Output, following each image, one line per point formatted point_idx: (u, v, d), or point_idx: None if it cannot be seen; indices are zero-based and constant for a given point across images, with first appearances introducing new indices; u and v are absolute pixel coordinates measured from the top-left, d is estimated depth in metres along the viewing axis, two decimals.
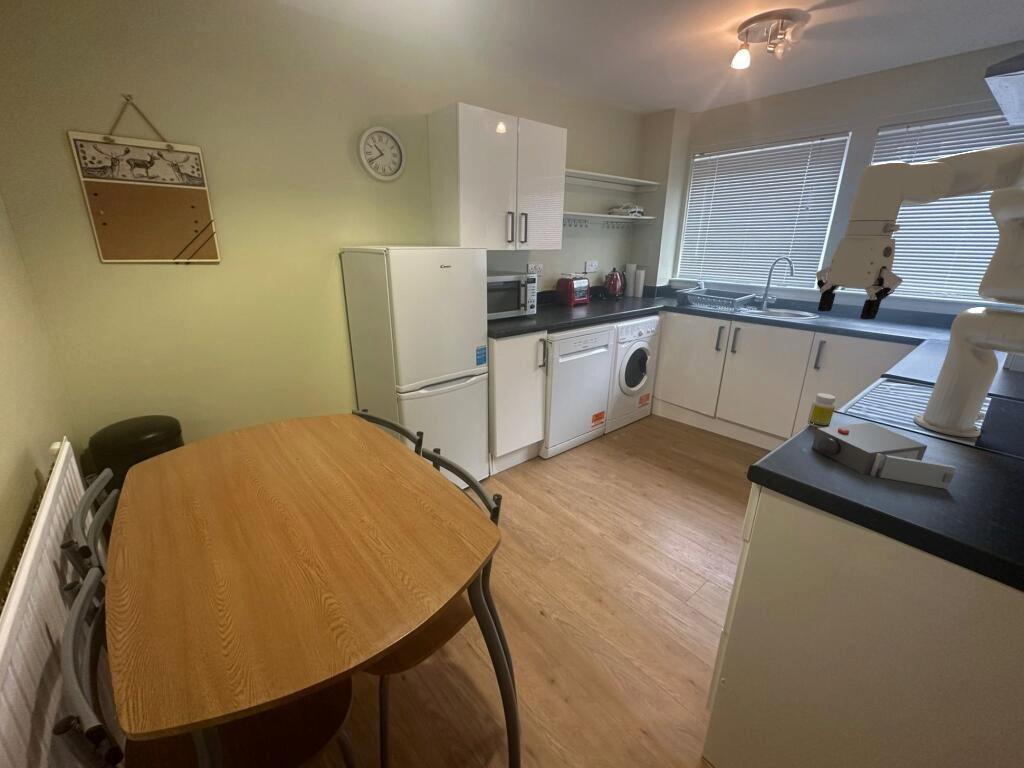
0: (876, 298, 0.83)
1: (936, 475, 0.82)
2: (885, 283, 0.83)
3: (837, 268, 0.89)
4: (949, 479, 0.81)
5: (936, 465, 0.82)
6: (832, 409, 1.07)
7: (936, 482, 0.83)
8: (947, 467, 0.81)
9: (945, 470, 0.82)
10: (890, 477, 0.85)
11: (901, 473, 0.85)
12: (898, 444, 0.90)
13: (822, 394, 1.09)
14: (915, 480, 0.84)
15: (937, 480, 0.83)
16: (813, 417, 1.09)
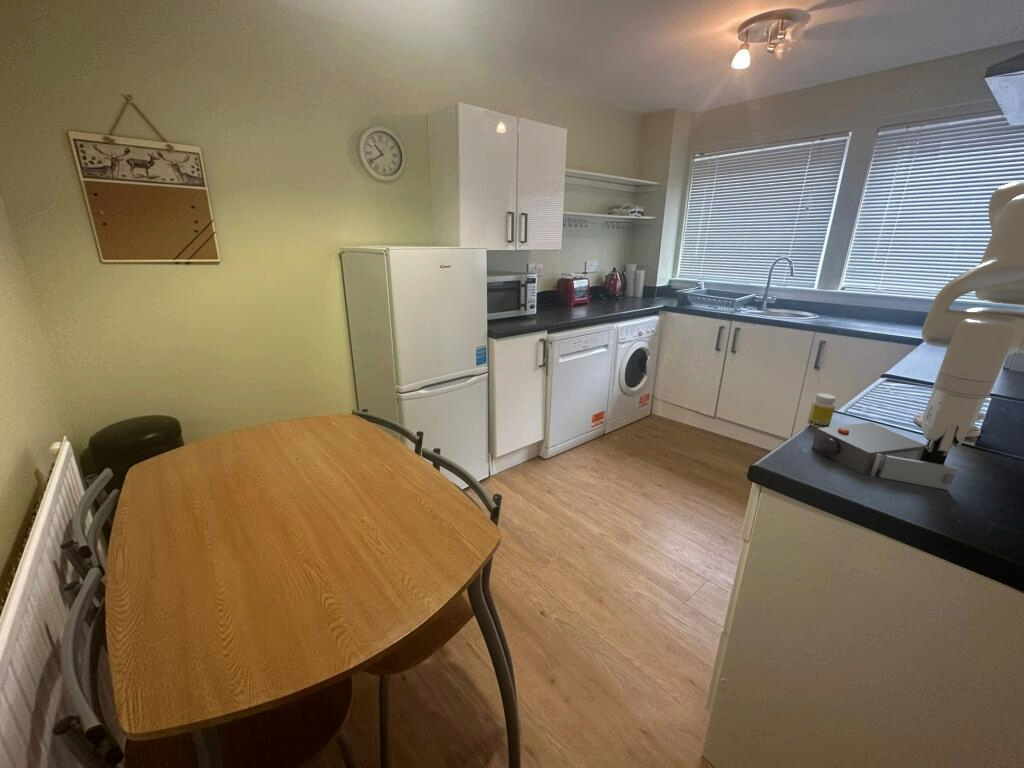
0: None
1: (937, 476, 0.82)
2: None
3: None
4: (950, 480, 0.81)
5: (937, 466, 0.82)
6: (832, 409, 1.07)
7: (937, 483, 0.82)
8: (948, 468, 0.81)
9: (946, 471, 0.81)
10: (890, 478, 0.85)
11: (901, 473, 0.84)
12: (898, 444, 0.90)
13: (822, 394, 1.09)
14: (916, 481, 0.84)
15: (938, 481, 0.82)
16: (813, 417, 1.09)
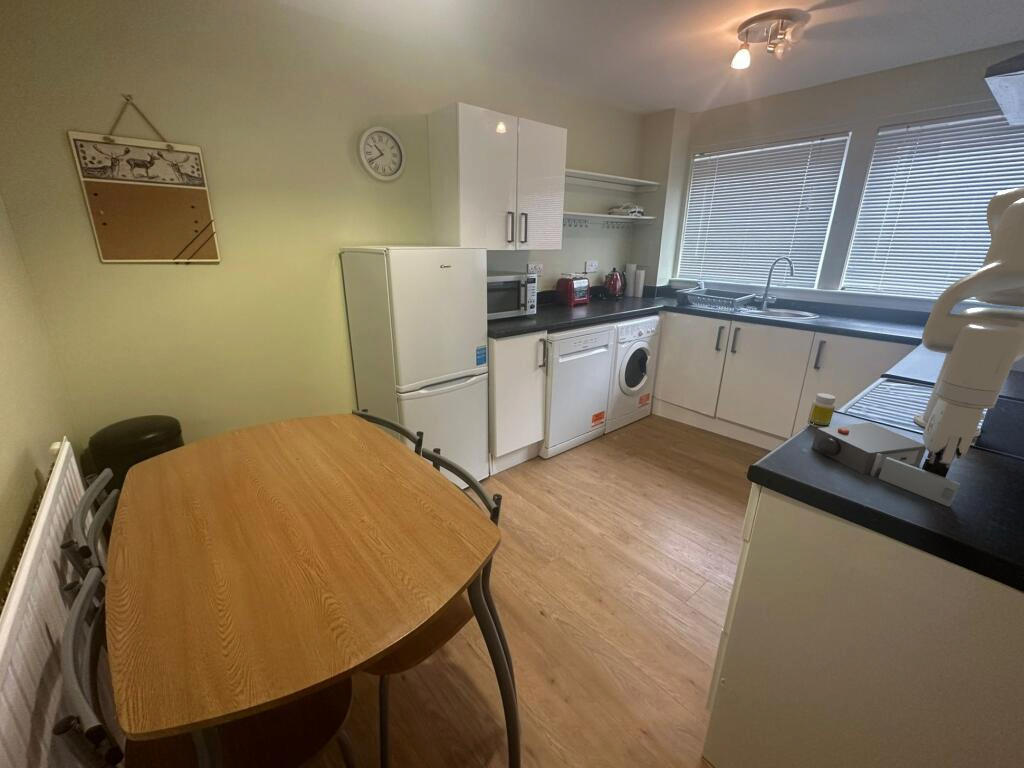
0: None
1: (936, 488, 0.78)
2: None
3: None
4: (947, 494, 0.76)
5: (936, 477, 0.78)
6: (832, 409, 1.07)
7: (936, 496, 0.78)
8: (948, 481, 0.76)
9: (946, 484, 0.77)
10: (888, 480, 0.84)
11: (899, 478, 0.83)
12: (898, 444, 0.90)
13: (822, 394, 1.09)
14: (914, 489, 0.81)
15: (937, 494, 0.78)
16: (813, 417, 1.09)
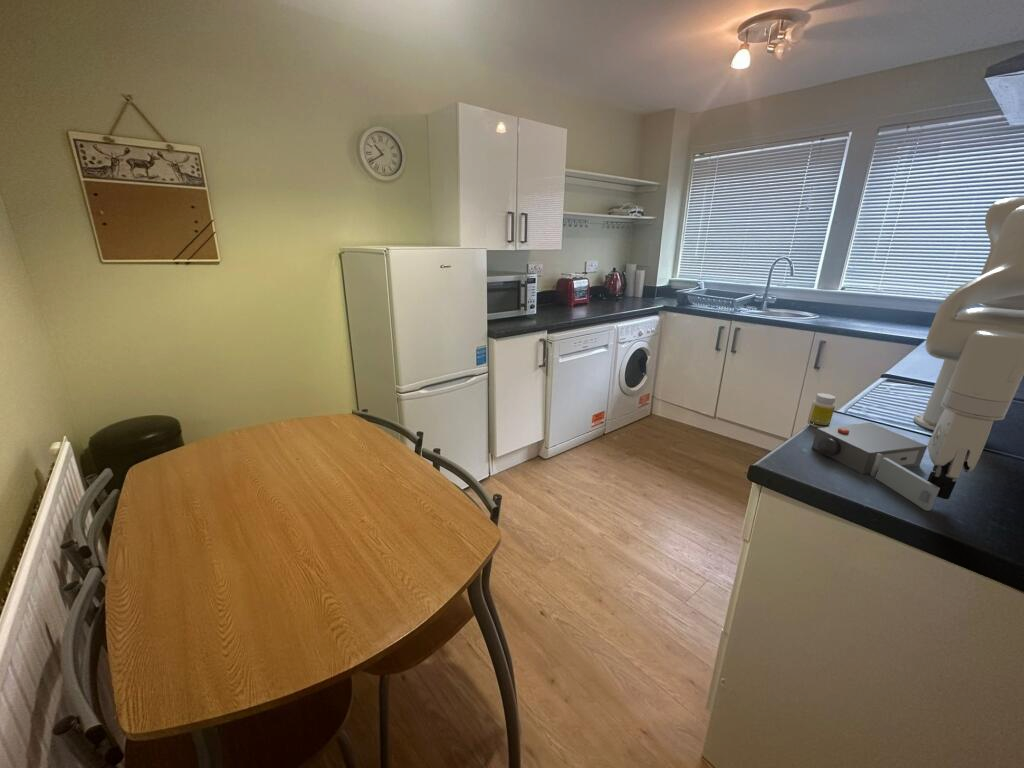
0: None
1: (918, 491, 0.77)
2: None
3: None
4: (923, 497, 0.75)
5: (919, 479, 0.77)
6: (832, 409, 1.07)
7: (917, 499, 0.77)
8: (928, 485, 0.75)
9: (925, 487, 0.76)
10: (882, 481, 0.84)
11: (891, 479, 0.82)
12: (898, 444, 0.90)
13: (822, 394, 1.09)
14: (901, 491, 0.80)
15: (918, 497, 0.77)
16: (813, 417, 1.09)
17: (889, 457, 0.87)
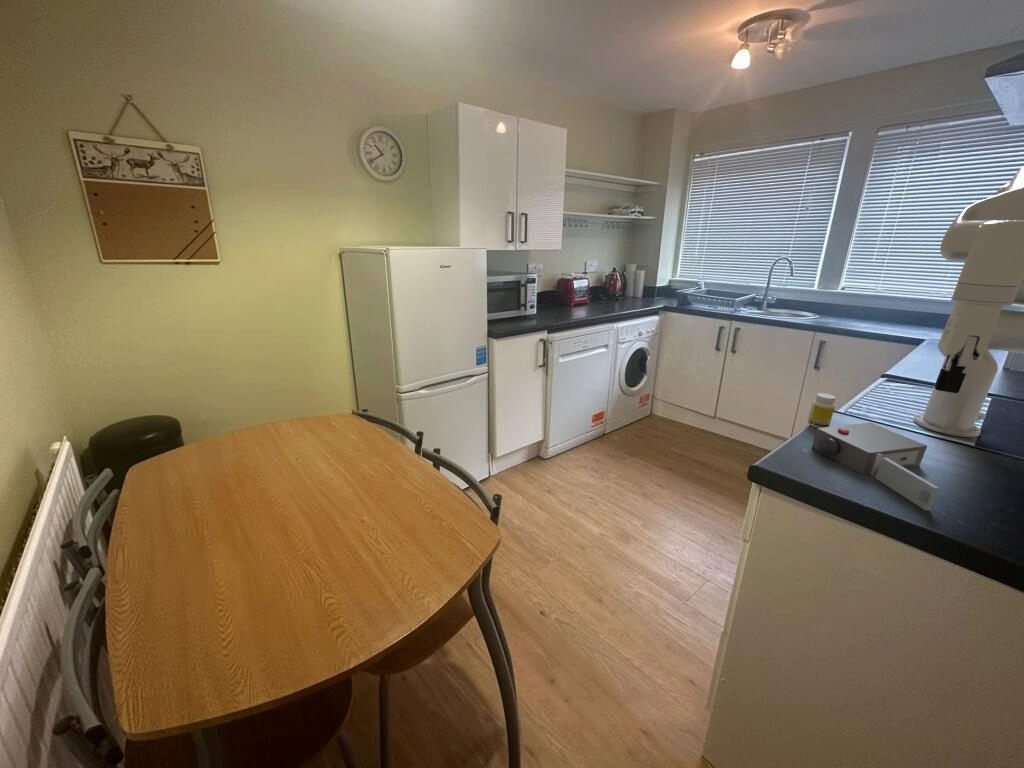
0: None
1: (917, 491, 0.77)
2: None
3: None
4: (922, 497, 0.75)
5: (919, 479, 0.77)
6: (832, 409, 1.07)
7: (917, 499, 0.77)
8: (927, 485, 0.75)
9: (925, 487, 0.76)
10: (882, 481, 0.84)
11: (890, 479, 0.82)
12: (898, 444, 0.90)
13: (822, 394, 1.09)
14: (900, 491, 0.80)
15: (918, 497, 0.77)
16: (813, 417, 1.09)
17: (889, 457, 0.87)
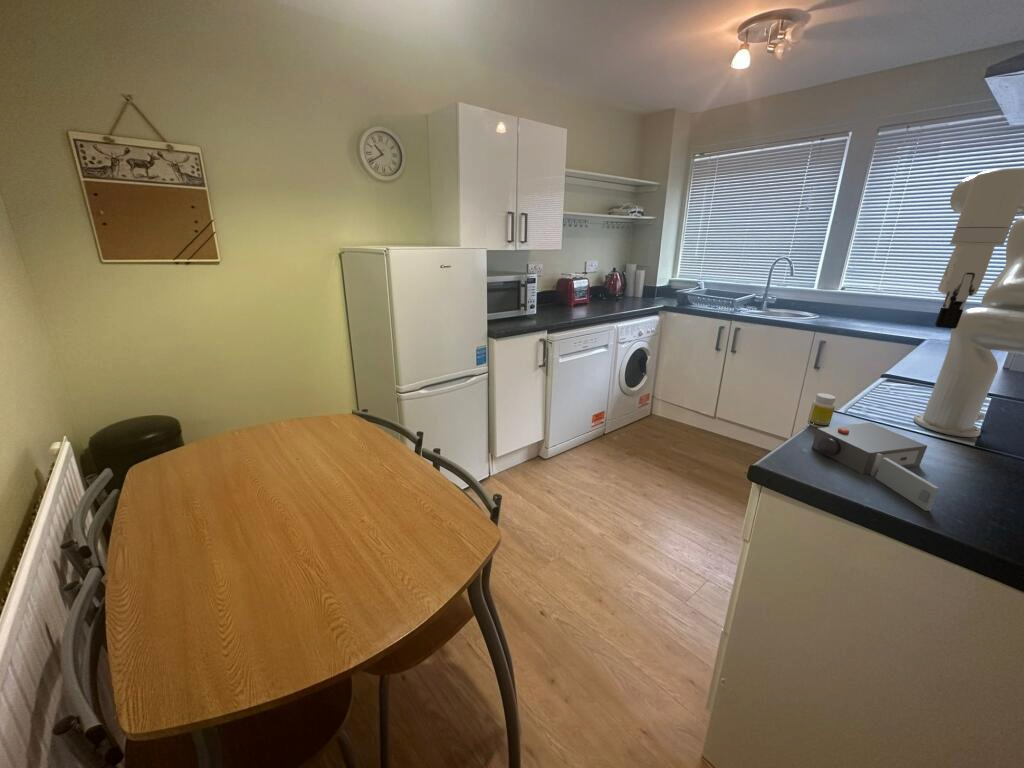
0: None
1: (917, 491, 0.77)
2: None
3: None
4: (922, 497, 0.75)
5: (919, 479, 0.77)
6: (832, 409, 1.07)
7: (917, 499, 0.77)
8: (927, 485, 0.75)
9: (925, 487, 0.76)
10: (882, 481, 0.84)
11: (890, 479, 0.82)
12: (898, 444, 0.90)
13: (822, 394, 1.09)
14: (900, 491, 0.80)
15: (918, 497, 0.77)
16: (813, 417, 1.09)
17: (889, 457, 0.87)
